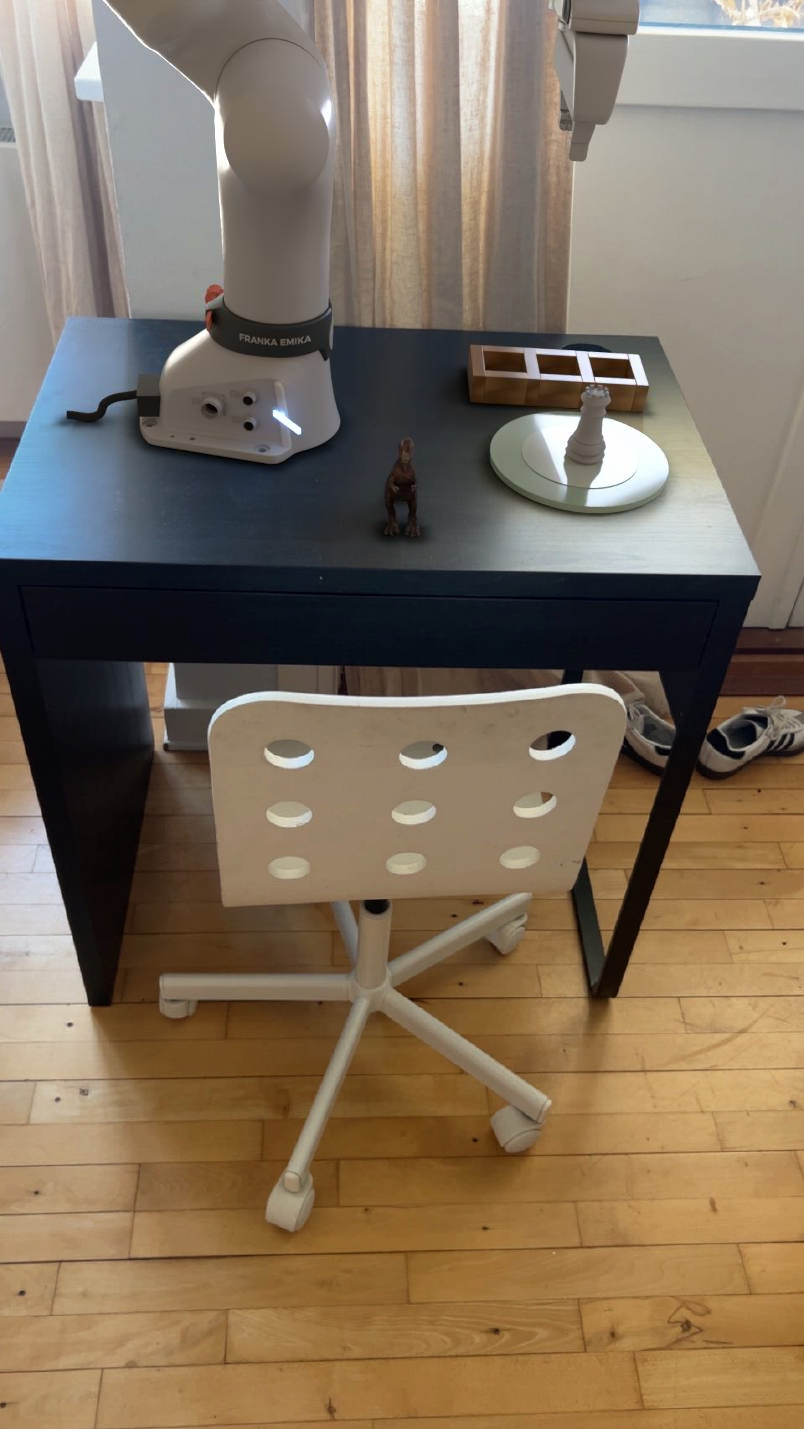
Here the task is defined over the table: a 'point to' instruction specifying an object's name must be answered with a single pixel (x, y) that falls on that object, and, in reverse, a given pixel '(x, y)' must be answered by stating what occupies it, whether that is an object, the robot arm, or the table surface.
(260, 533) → the table surface
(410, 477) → the dinosaur model
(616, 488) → the plate
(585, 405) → the rook chess piece
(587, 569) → the table surface
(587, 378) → the rack
